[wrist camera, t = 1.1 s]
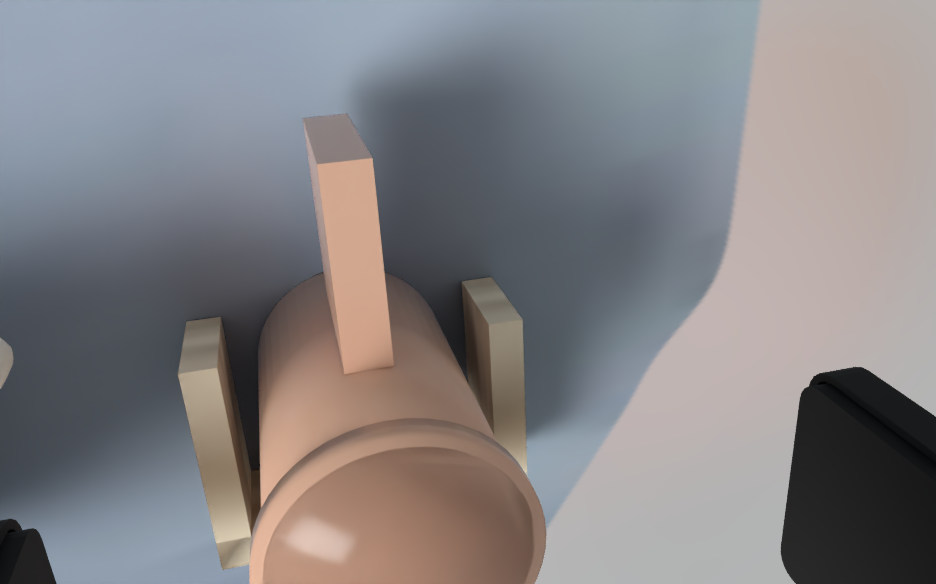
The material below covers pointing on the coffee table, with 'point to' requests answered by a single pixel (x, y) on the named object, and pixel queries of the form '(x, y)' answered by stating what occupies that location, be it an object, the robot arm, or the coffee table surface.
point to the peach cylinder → (376, 419)
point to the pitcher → (5, 361)
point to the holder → (221, 432)
